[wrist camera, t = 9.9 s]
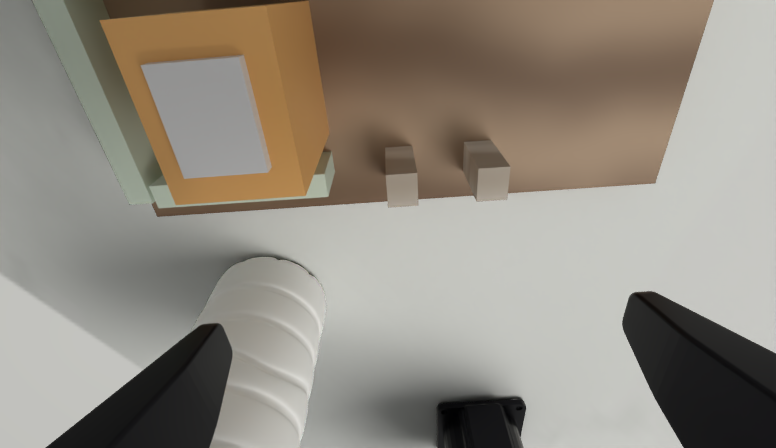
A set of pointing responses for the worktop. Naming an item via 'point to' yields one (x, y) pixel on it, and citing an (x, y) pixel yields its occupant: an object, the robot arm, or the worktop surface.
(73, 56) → the bracket
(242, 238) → the worktop surface
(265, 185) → the orange upright block
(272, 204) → the board
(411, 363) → the worktop surface
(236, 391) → the water bottle
